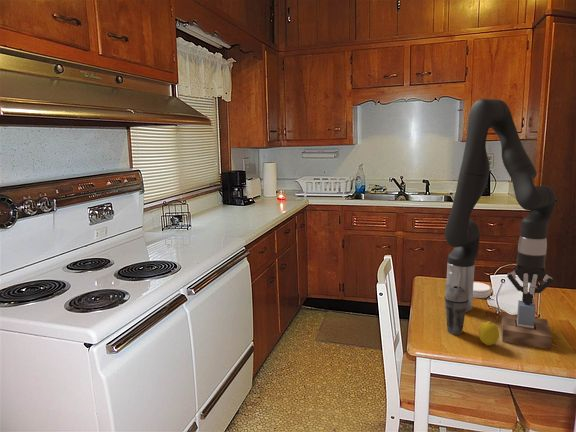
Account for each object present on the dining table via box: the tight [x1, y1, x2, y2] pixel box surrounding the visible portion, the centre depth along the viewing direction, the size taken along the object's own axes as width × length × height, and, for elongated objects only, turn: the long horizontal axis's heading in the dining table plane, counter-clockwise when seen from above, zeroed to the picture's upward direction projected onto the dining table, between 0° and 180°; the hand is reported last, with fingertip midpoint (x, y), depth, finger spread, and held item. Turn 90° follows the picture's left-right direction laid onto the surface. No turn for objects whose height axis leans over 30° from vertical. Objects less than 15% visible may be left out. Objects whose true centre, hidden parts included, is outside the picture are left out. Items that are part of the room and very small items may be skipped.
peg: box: [516, 299, 536, 329], centre depth 134 cm, size 4×4×11 cm
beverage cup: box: [444, 273, 468, 336], centre depth 137 cm, size 7×7×20 cm
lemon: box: [478, 320, 500, 347], centre depth 129 cm, size 6×6×8 cm
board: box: [500, 312, 553, 350], centre depth 134 cm, size 13×13×4 cm
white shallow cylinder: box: [473, 281, 492, 299], centre depth 170 cm, size 10×10×4 cm
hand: (527, 304), depth 133 cm, fingers closed
